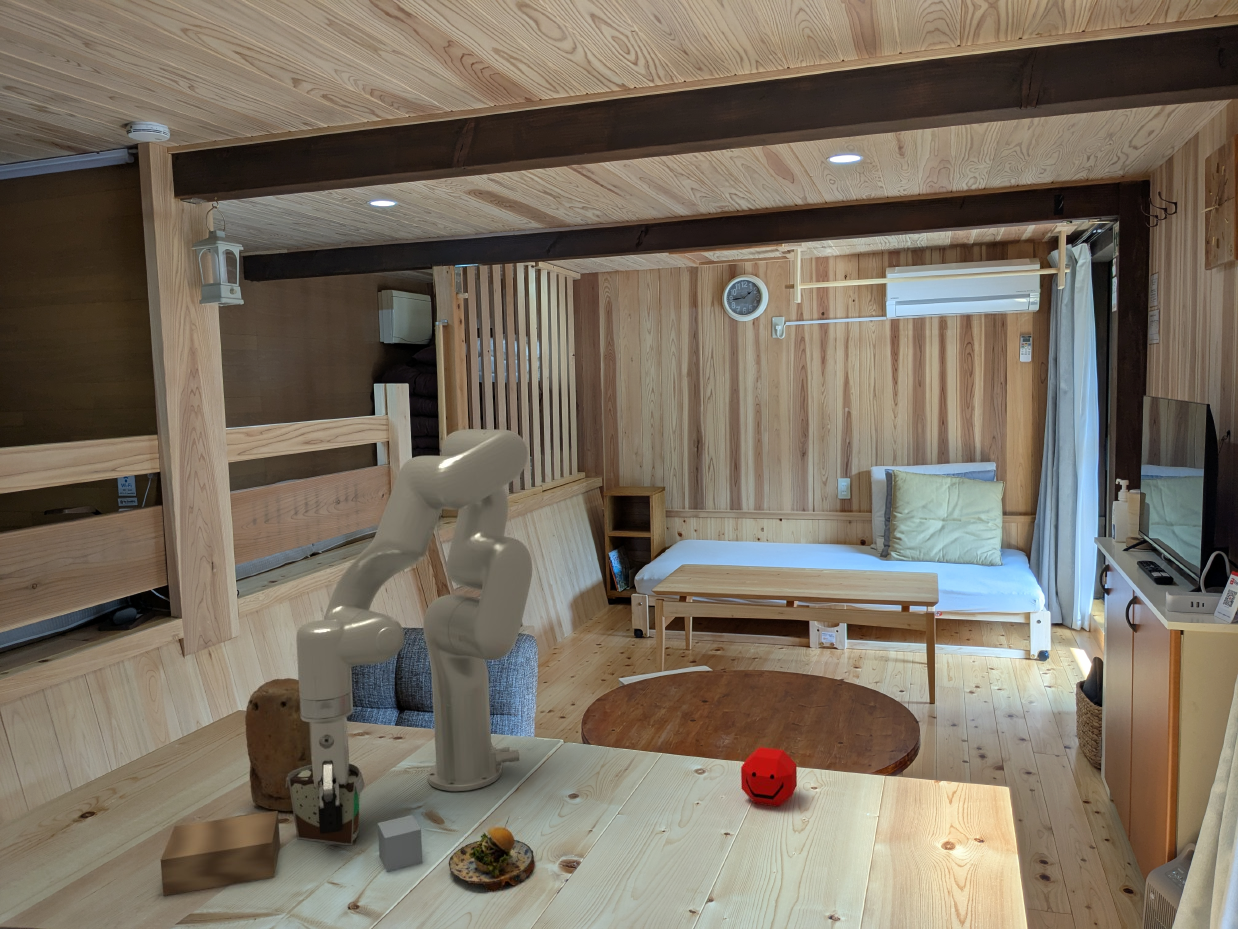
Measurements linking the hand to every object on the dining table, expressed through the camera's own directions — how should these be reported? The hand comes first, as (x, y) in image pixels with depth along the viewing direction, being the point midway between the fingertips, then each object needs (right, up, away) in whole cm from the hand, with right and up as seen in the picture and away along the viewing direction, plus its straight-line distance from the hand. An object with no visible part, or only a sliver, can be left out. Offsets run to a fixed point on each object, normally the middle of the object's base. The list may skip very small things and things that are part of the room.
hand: (331, 819), depth 137 cm
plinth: (-13, -4, -8) cm, 15 cm away
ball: (+67, 0, +7) cm, 68 cm away
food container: (0, -3, +1) cm, 3 cm away
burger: (+26, -3, -11) cm, 28 cm away
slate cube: (+12, -3, -7) cm, 14 cm away
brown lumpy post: (-11, -2, +12) cm, 16 cm away
